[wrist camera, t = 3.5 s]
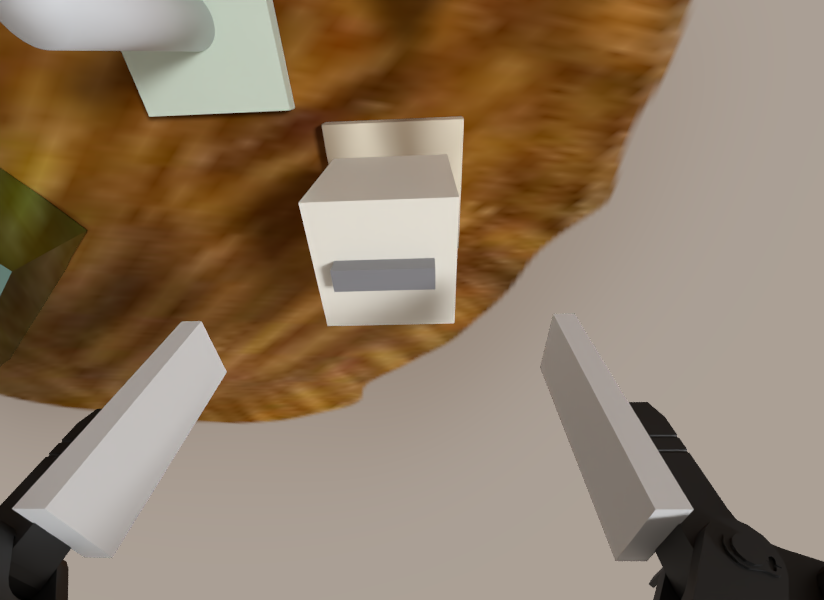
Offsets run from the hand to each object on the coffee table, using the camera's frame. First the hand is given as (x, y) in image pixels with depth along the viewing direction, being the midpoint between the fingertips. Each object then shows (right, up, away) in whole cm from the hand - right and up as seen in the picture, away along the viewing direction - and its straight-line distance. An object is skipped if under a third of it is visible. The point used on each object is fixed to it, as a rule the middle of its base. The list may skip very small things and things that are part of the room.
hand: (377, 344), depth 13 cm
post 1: (-12, +19, +9) cm, 25 cm away
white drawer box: (0, +8, +11) cm, 13 cm away
